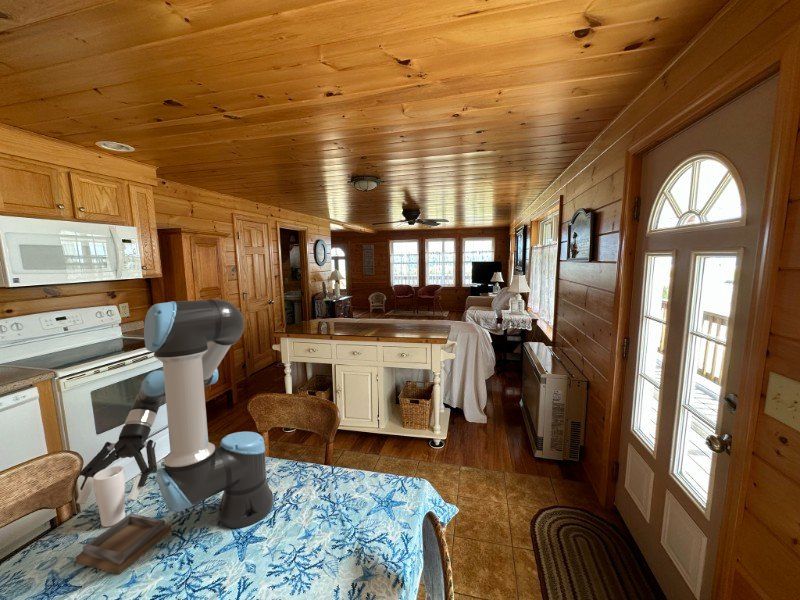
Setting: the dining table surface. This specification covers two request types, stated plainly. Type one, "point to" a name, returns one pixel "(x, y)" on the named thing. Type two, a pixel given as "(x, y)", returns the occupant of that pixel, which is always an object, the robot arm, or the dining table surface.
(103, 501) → the white cup
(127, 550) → the collar board
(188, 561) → the dining table surface
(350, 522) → the dining table surface
